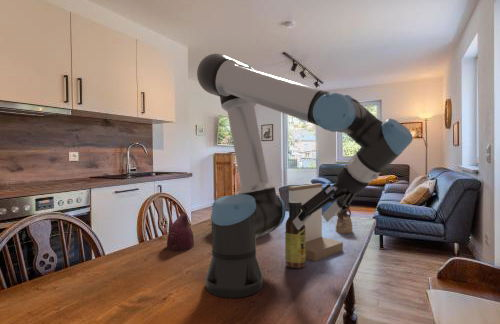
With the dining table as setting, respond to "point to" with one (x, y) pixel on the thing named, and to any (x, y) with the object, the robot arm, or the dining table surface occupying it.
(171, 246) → the vegetable
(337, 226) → the figurine
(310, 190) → the upright board stand
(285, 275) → the dining table surface
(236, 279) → the robot arm
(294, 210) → the sauce bottle
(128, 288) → the dining table surface
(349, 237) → the dining table surface
